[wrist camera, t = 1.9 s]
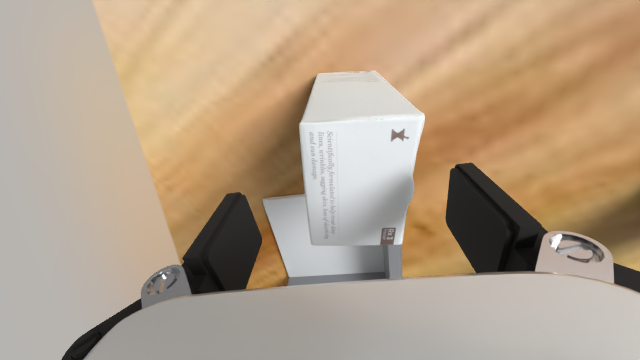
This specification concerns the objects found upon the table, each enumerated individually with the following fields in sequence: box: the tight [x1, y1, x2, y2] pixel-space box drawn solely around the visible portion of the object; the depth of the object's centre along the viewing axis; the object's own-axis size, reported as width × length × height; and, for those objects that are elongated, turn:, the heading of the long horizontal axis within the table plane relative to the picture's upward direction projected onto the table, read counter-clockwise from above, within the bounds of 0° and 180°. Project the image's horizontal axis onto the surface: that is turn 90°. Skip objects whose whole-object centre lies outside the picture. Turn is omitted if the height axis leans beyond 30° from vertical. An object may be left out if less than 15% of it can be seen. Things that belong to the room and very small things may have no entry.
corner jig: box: [262, 194, 402, 286], centre depth 31 cm, size 16×16×6 cm
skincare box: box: [299, 71, 425, 246], centre depth 19 cm, size 8×6×15 cm
